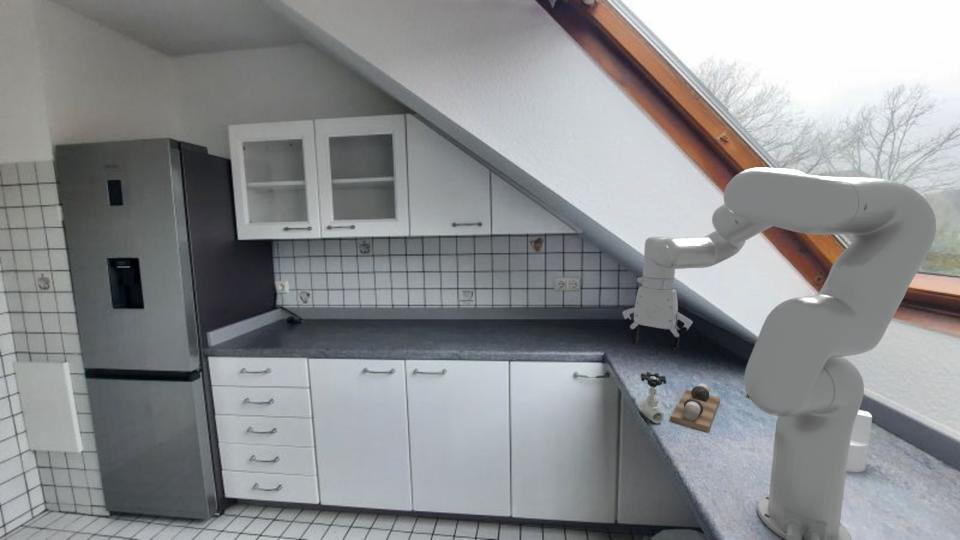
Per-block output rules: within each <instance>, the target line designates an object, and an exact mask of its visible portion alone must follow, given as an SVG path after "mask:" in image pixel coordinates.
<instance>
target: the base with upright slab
mask: <svg viewBox="0 0 960 540" xmlns="http://www.w3.org/2000/svg"><path fill="white" fill-rule="evenodd" d="M872 421H873V416H872V414H871V413H870V412H869V411H866V410H862V409H859V411H858V414H857V416H856V419H855V422H854V425H853V429H852V434H851V440H850V448H849V455H848V460H847V469H846V472H851V473H861V472H865V470H866V468H867V459H868V451H869V445H870V438H871V437H870V436H871V429H872Z"/></svg>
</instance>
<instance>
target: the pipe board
mask: <svg viewBox="0 0 960 540" xmlns="http://www.w3.org/2000/svg"><path fill="white" fill-rule="evenodd" d="M710 389H711V388H710V386H709V385H708V384H707V383H705V382H699V383H697V384H696V386H694V387H693V388H692V389H691V390H689V389H686V390H685V391H684V393H683V395H682V397H681V398H680V400H679V401H678V403H677V405H676V407H675V408H674V410H673V411H672V413H671V414H670V418H669V419H670V420H669V421H670V423H671V422H672V423H675V424H678V425H682V426H685V427H688V428H691V429H695V430H698V431H702V432H706V433H710V431H711V427H712V424H713V422H714V419H715V417H716V414H717V411H718V409H719V406H720V403H721V397H718V396H714V395H710V391H711V390H710Z"/></svg>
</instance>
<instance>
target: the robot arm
mask: <svg viewBox="0 0 960 540" xmlns="http://www.w3.org/2000/svg"><path fill="white" fill-rule="evenodd" d="M711 217H712V218H711V222H712V223H711V224H712V227H713V228H714V230H715V231H714V230H713V232H711V233H709V234H707V235H706V236H701V237H700V236H699V237H695V236H693V237H692V236H691V237H689V236H688V237H669V236H651V237H647V238H646V239H645V242H644V252H643V253H644V254H643V271H642V276H641V277H637V278H636V282H637V283H639V284H641V286H640V287H638V290H637V293H636V298H635V303H634V304H635V305H634V307H632V308H628V309H625V310H623V311H622V312H621V313H622V316H623V319H625V320H624V321H625V322H626V324H627V325H628V326H629V328H630V329H631V330H630V333H631V334H630V335H631V336H630V339H631V340H632V344H634V345H635V344H636V343H638V342H639V339H640V328H639V326H645V327H650V328H656V329H663V330H669V331H670V332H671V333H672V336H671V339H670V342H671V343H670V351H671V352H676V350H677V349H678V348H680V347H679V346H680V336H682V335H683V334H684V333H686V332H687V331H688V330H689V329H690V328H691V326H692V324H693V322H694V321H693V320H692V319H690V318H688V317H687V316H685V315H684V314H682V313H680V312H679V306H678V303H679V302H678V294H677V289H675V287H674V286H675V274H676V270H684V269H704V268H710V267H713V266H716V265H718V264H719V263H722V262H724V261H726V260H728V259H730V258H732V257H734V256H735V255H737V254H738V253H740V251H741V250H742V248H743V247H744V245H745V243H746V241H747V240H749V239H751V238H753V237H755V236H757V235H759V234H761V233H763V232H764V231H766V230H768V229H771V228H772V227H775V228H780V229H783V230H786V231H791V232H795V233H801V234H806V235H814V236H815V235H818V236H824V235H830V236H831V235H852V237H853V239H852V242H851V243H850V244H848V246H847V248H845V249H844V251H843V252H842V253H840V255H839V256H838V257H836V260H835V261H834V263H833V264H832V265H831V268H830V270H829V273H828V275H827V278H826V280H825V282H824V284H823V285H822V287H821V289H820V290H819V291H818V293H817V294H815V295H808V296H799V297H794V298H790V299H787V300H784V301H782V302H780V303H779V304H778V305H776V306H775V307H774V308H773V309H772V310H771V311H770V312H769V313H768V315H767V316H766V318H765V320H764V322H763V324H762V327H761V329H760V330H759V334H758V337H757V339H756V341H755V344H754V346H753V349H752V352H751V353H750V356H749V358H748V361H747V364H746V367H745V371H744V375H743V376H744V378H743V379H744V380H743V381H744V388H745V391H746V395H747V394H748V396H749V398H748V399H749V400H750V401H751V402H752V404H754V406H756V407H757V408H758V409H759V410H760V411H762V412H765V413H766V414H769V415H772V416H774V417H777V419H776V423H775V431H774V441H773V450H772V459H771V470H770V471H771V473H770V483H769V493H768V494H766V495H763V496H762V497H760V498H758V501H757V505H756V510H757V511H756V512H757V514H758V516H759V518H760V519H761V520H762V522H763V523H764V525H766V526H767V527H768V528H769V529H770V530H771V531H773V533H775V534H776V535H778V536H779V537H781V538H783V539H784V540H852V537H851V534H850V532H849V531H848V529H847V528H846V527H845V525H843V523H842V522H841V516H842V509H843V502H844V501H843V500H844V492H845V483H846V476H847V471H846V469H847V460H848V455H849V448H850V440H851V434H852V429H853V425H854V422H855V419H856V416H857V414H858V411H859V410H860V408H861V405H862V402H863V399H864V393H865V386H864V385H865V384H864V380H863V377H862V375H861V373H860V371H859V370H858V368H857V367H856V365H855V364H853V363H852V362H851V361H849V360H848V359H847V358H845V357H850V356H856V355H860V354H861V355H862V354H865V353H867V352H870V351H872V350H873V349H874V348H876V347H877V346H878V344H879V343H880V342H881V340H882V338H883V337H884V335H885V333H886V330H887V329H888V327H889V325H890V323H891V322H892V320H893V318H894V316H895V314H896V312H897V311H898V309H899V307H900V305H901V303H902V301H903V299H904V297H905V296H906V293H907V291H908V289H909V287H910V285H911V283H912V282H913V280H914V278H915V276H916V275H917V273H918V272H919V269H920V268H921V266H922V264H924V263H923V262H924V261H925V260H926V258H927V256H928V254H929V252H930V250H931V248H932V245H933V244H934V240H935V237H936V232H937V220H936V215H935V212H934V210H933V207H931V204H930V203H929V202H928V200H927V199H926V198H925V197H924V196H923V195H922V194H921V193H920V192H918V191H916V190H915V189H913V188H911V187H909V186H908V185H906V184H903V183H901V182H897V181H893V180H890V179H884V178H880V177H879V178H878V177H877V178H876V177H858V176H857V177H854V176H852V177H850V176H849V177H848V176H847V177H846V176H823V175H815V174H813V175H811V174H807V173H806V172H803V171H801V170H798V169H793V168H777V167H751V168H748V169H744V170H743V171H741V172H739V173H738V174H736V175H734V176H733V177H732V178H731V179H730V180H729V182H728V183H727V184H726V187H725V189H724V193H723V204H721V205H720V206H719V207H718V208H716V209H715V210H714V212H713V213H712V216H711ZM632 314H633V319H632V318H631V316H630V315H632ZM678 320H679V321H680V322H682V323H683V324H684V325H683V326H682V327H681V328H679V327H678Z"/></svg>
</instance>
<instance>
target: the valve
mask: <svg viewBox="0 0 960 540" xmlns="http://www.w3.org/2000/svg"><path fill="white" fill-rule="evenodd" d="M640 381H641V382H645V381H647V385H648V386H649V387H650V388H648V394H649V395H647V396H646V398H645V399H644V400H642V401H641V402H640V404H639V410H640V411H642V412H643V415H644V416H645V417H646V418H647V419H649V420H650V421H651V422H653V423H655V424H657V425H658V424H660V423H662V422H663V421H664V419H665V418H664V417H665V415H664V413H663V411H662V410H660V408H659V406H658V404H659V399H658V398H657V397H656V395H657V389H656V388H657V387H658V386H661V385H662V384H664V385H666V384H667V379H666V376H664V375H660V374H659V373H658V372H654V373H651V372H650V371H649V372H648V371H647V372H646V373H643V372H641V373H640Z"/></svg>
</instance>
